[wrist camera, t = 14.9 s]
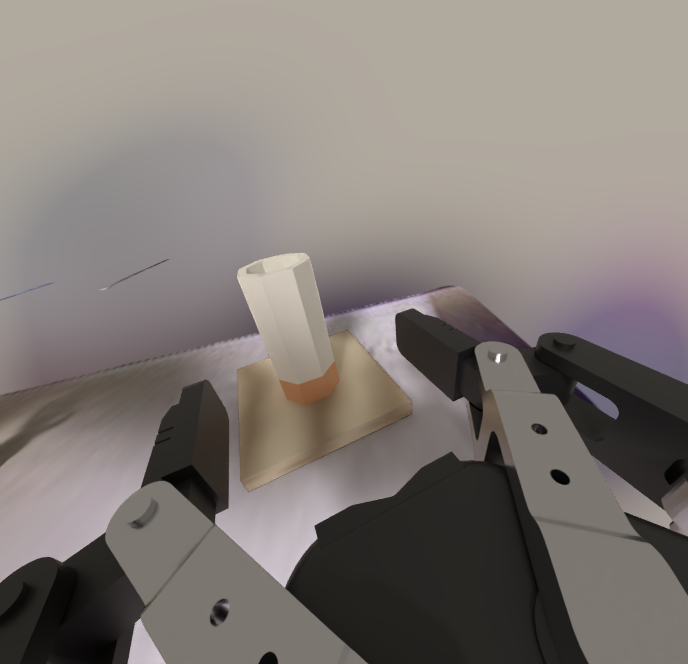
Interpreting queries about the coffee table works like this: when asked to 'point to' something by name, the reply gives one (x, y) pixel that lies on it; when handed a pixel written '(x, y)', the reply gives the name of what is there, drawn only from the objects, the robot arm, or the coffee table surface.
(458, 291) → the coffee table surface
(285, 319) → the sleeve
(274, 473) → the pin board
